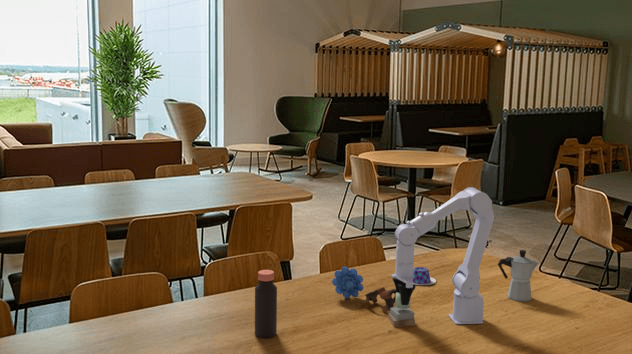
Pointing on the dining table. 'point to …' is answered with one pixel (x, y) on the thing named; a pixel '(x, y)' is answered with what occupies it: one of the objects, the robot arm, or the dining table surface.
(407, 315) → the tower top
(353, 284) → the blue flower
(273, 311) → the bottle
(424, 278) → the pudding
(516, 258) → the coffee maker
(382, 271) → the dining table surface
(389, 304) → the pottery mug
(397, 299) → the green cylinder
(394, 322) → the tower base
